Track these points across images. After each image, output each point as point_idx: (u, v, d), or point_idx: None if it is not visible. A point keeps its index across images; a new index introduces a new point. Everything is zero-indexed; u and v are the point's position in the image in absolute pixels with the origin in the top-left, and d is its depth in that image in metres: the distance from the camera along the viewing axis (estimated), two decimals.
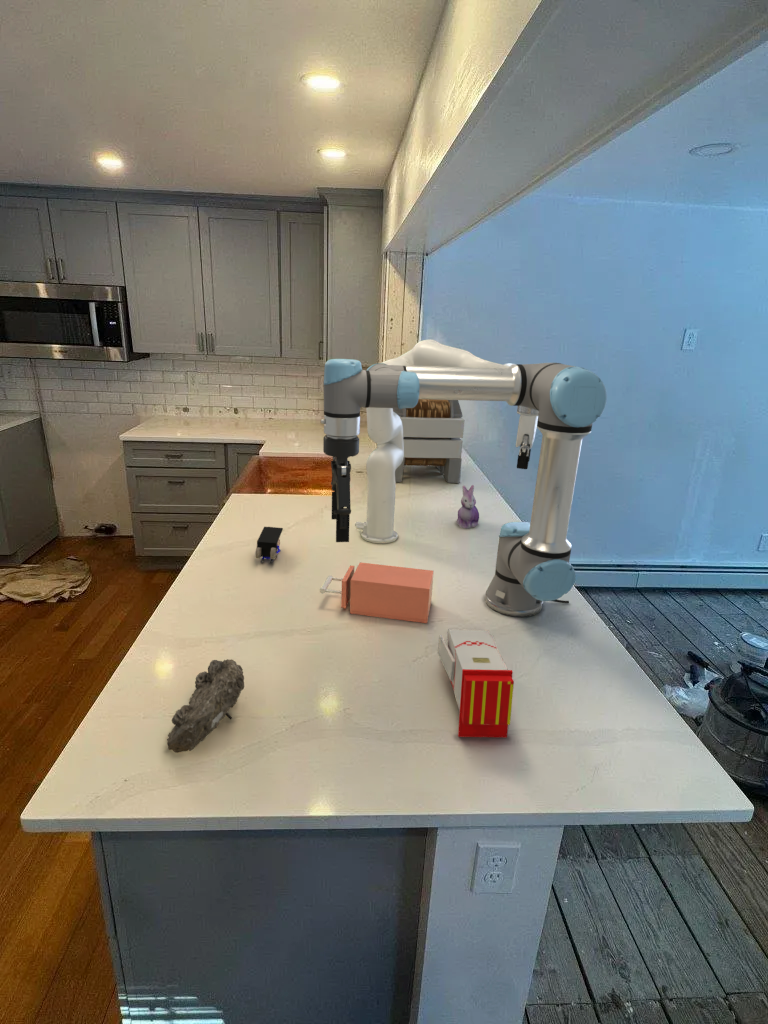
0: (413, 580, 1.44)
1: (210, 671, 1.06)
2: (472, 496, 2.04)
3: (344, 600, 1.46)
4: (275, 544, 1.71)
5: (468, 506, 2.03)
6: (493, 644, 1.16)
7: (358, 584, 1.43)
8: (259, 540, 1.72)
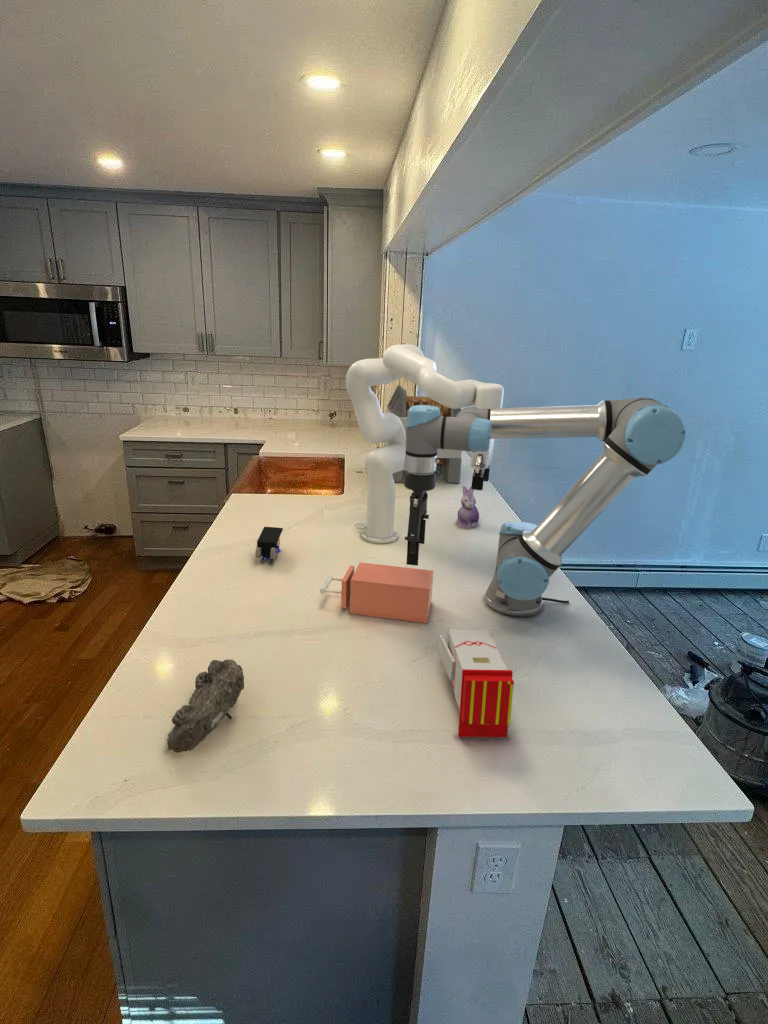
0: (413, 580, 1.44)
1: (210, 671, 1.06)
2: (472, 496, 2.04)
3: (344, 600, 1.46)
4: (275, 544, 1.71)
5: (468, 506, 2.03)
6: (493, 644, 1.16)
7: (358, 584, 1.43)
8: (259, 540, 1.72)
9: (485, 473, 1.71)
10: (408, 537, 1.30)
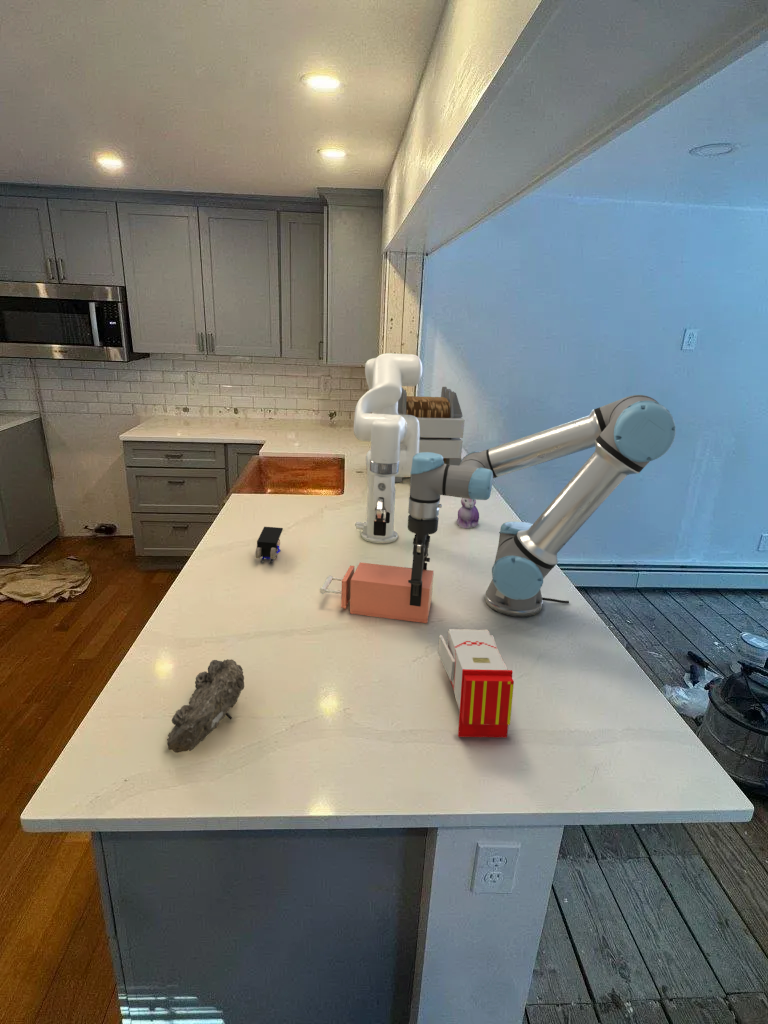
0: None
1: (210, 671, 1.06)
2: None
3: (344, 600, 1.46)
4: (275, 544, 1.71)
5: (468, 506, 2.03)
6: (493, 644, 1.16)
7: (358, 584, 1.43)
8: (259, 540, 1.72)
9: None
10: (412, 581, 1.37)
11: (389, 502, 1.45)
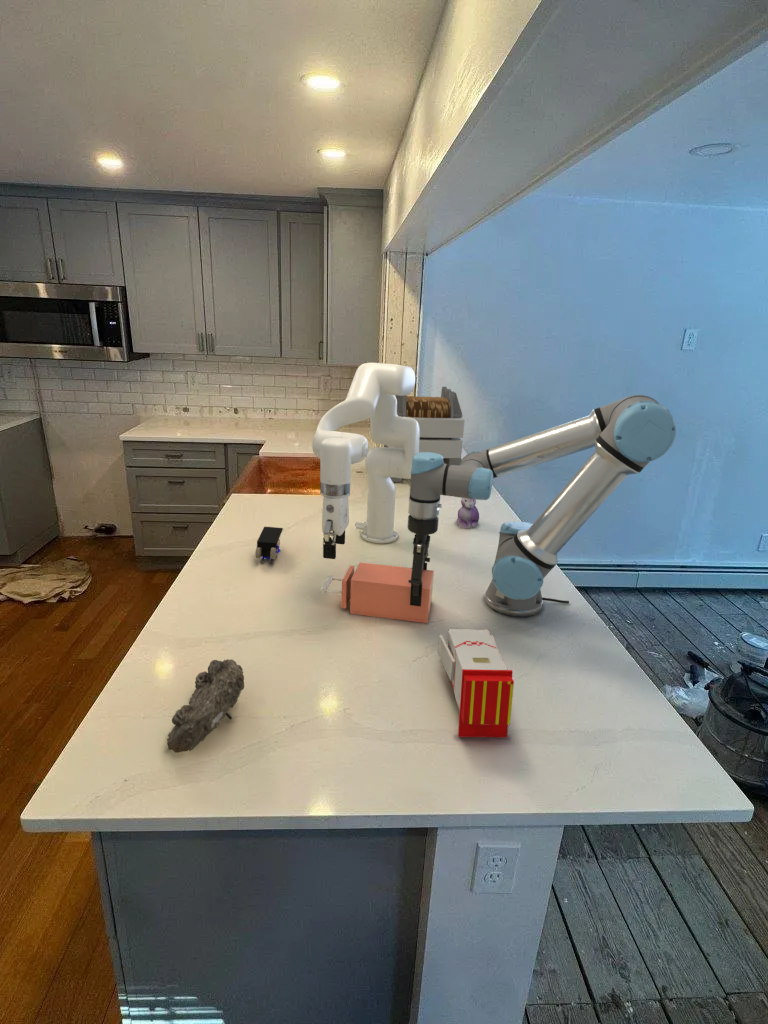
0: None
1: (210, 671, 1.06)
2: None
3: (344, 600, 1.46)
4: (275, 544, 1.71)
5: (468, 506, 2.03)
6: (493, 644, 1.16)
7: (358, 584, 1.43)
8: (259, 540, 1.72)
9: None
10: (412, 581, 1.37)
11: (338, 525, 1.40)
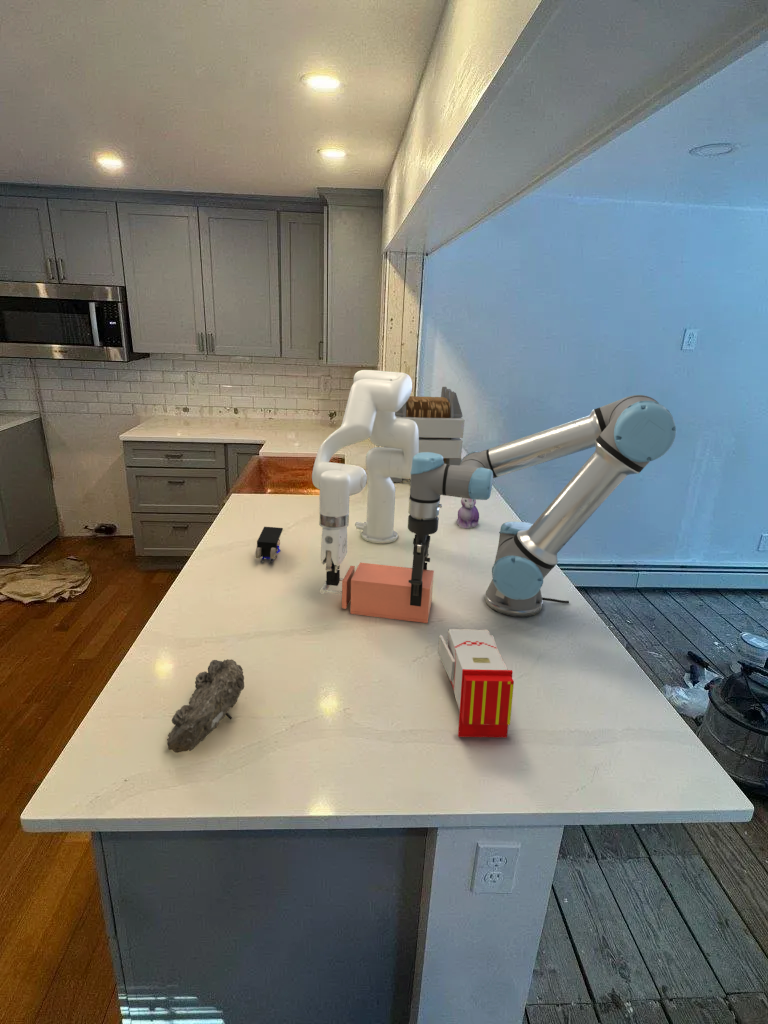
0: None
1: (210, 671, 1.06)
2: None
3: (345, 600, 1.46)
4: (275, 544, 1.71)
5: (468, 506, 2.03)
6: (493, 644, 1.16)
7: (358, 584, 1.43)
8: (259, 540, 1.72)
9: None
10: (412, 581, 1.37)
11: (337, 555, 1.42)
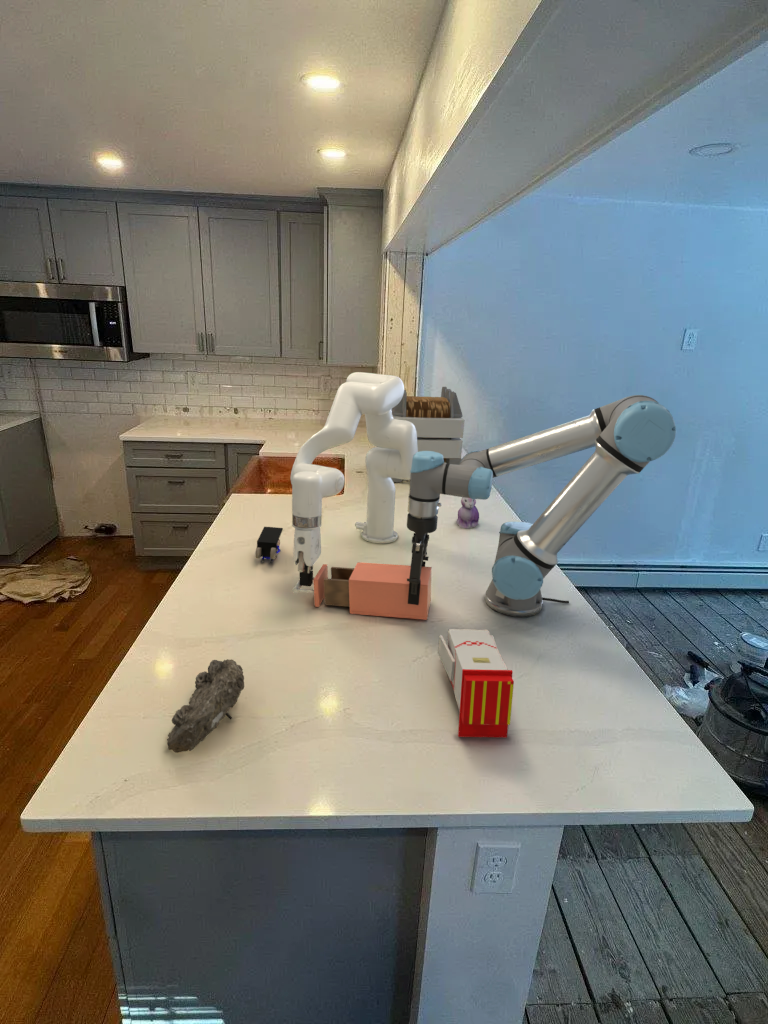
0: None
1: (210, 671, 1.06)
2: None
3: (317, 598, 1.48)
4: (275, 544, 1.71)
5: (468, 506, 2.03)
6: (493, 644, 1.16)
7: (356, 584, 1.43)
8: (259, 540, 1.72)
9: None
10: (410, 579, 1.37)
11: (309, 556, 1.43)
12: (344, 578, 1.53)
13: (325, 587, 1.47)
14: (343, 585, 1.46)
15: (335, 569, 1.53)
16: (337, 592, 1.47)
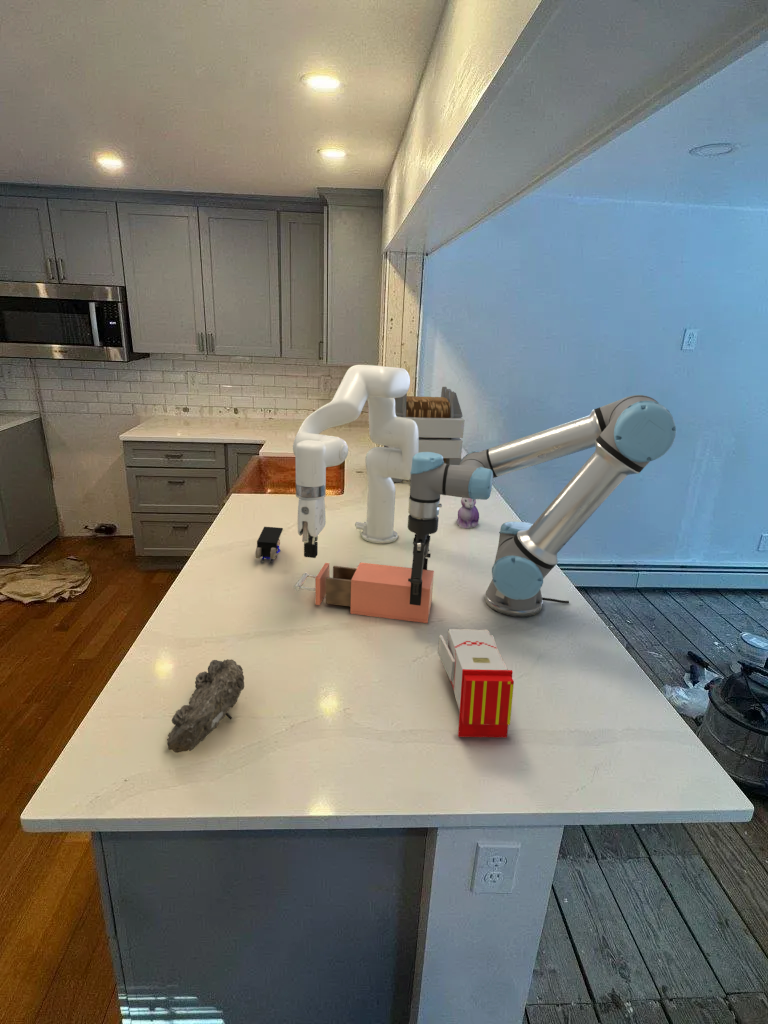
0: None
1: (210, 671, 1.06)
2: None
3: (318, 597, 1.47)
4: (275, 544, 1.71)
5: (468, 506, 2.03)
6: (493, 644, 1.16)
7: (358, 584, 1.43)
8: (259, 540, 1.72)
9: None
10: (412, 580, 1.35)
11: (313, 526, 1.41)
12: (346, 578, 1.53)
13: (327, 586, 1.47)
14: (345, 585, 1.46)
15: (337, 568, 1.53)
16: (339, 592, 1.47)
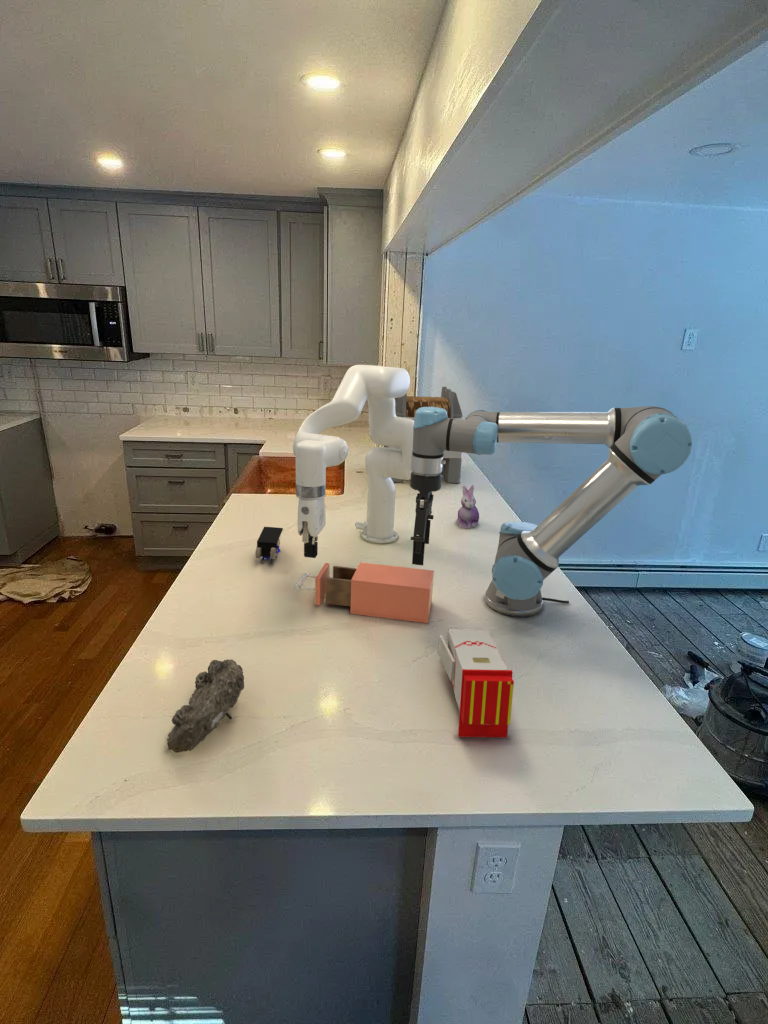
0: (414, 580, 1.44)
1: (210, 671, 1.06)
2: (472, 496, 2.04)
3: (318, 597, 1.47)
4: (275, 544, 1.71)
5: (468, 506, 2.03)
6: (493, 644, 1.16)
7: (358, 584, 1.43)
8: (259, 540, 1.72)
9: None
10: (414, 537, 1.32)
11: (313, 526, 1.41)
12: (346, 578, 1.53)
13: (327, 586, 1.47)
14: (345, 585, 1.46)
15: (337, 568, 1.53)
16: (339, 592, 1.47)
